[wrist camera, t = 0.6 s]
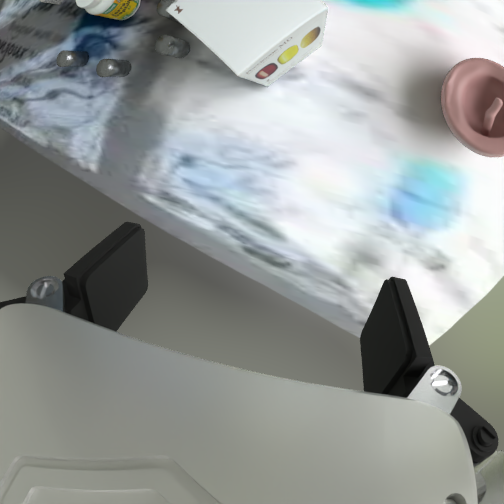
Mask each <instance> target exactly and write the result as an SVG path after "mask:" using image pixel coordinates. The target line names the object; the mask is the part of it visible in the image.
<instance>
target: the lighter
mask: <svg viewBox="0 0 504 504" xmlns="http://www.w3.org/2000/svg"><path fill="white" fill-rule="evenodd" d="M40 1H41V2H44V3H52V4H58V5H60V4H61V2H62V1H63V0H40Z"/></svg>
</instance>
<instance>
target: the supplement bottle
mask: <svg viewBox="0 0 504 504" xmlns="http://www.w3.org/2000/svg"><path fill="white" fill-rule="evenodd" d="M140 1H141V0H76V4H77V6H79V7H81V8H85V9H86V11H87V12H88V13H90V14H93V15H98V16H103V17H107V18H112V19H116V20H124V19H127V18H129V17H131V16H132V15H134V14H135V13H136V11H137V10H138V8H139V6H140Z"/></svg>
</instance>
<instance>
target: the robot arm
mask: <svg viewBox="0 0 504 504" xmlns="http://www.w3.org/2000/svg"><path fill="white" fill-rule="evenodd" d="M64 276H65V279H64V280H63V281H61V280H60V279H58V278H57V277H53V276H47V277H42V278H39V279H37V280H35V281H34V282H33V283H31V285H30V286H29V287H28V290H27V295H26V297H21V298H17V299H13V300H9V301H4V302H0V504H504V453H503V452H502V451H500V452H499V453H498V451H497V446H498V436H497V433H496V431H495V429H494V428H493V427H492V426H491V425H490V424H489V423H488V422H487V421H486V420H484V419H483V418H482V417H481V416H480V415H479V414H478V413H476V412H475V411H474V410H473V409H472V408H471V407H469V406H468V405H467V404H466V403H465V402H463V401H462V400H461V399H460V398H459V396H460V394H461V390H462V387H461V383H460V380H459V378H458V377H457V375H456V374H455V373H453V371H452V370H450V369H448V368H446V367H443V366H435V365H434V362H433V358H432V355H431V352H430V348H429V345H428V341H427V338H426V335H425V332H424V329H423V326H422V323H421V320H420V317H419V314H418V311H417V308H416V306H415V303H414V300H413V297H412V295H411V292H410V289H409V287H408V284H407V281H406V280H405V279H401V278H396V277H391V278H390V279H389V280H387V279H386V280H385V281H384V283H383V285H382V288H381V290H380V293H379V295H378V297H377V300H376V302H375V304H374V306H373V309H372V311H371V313H370V315H369V318H368V320H367V322H366V324H365V326H364V328H363V330H362V333H361V337H360V344H361V356H362V367H363V383H364V391H356V390H350V389H343V388H337V387H330V386H324V385H318V384H312V383H307V382H301V381H296V380H290V379H285V378H281V377H275V376H271V375H266V374H262V373H257V372H253V371H249V370H244V369H240V368H236V367H232V366H227V365H224V364H220V363H216V362H212V361H209V360H205V359H201V358H197V357H194V356H190V355H187V354H183V353H180V352H177V351H174V350H170V349H167V348H163V347H160V346H157V345H154V344H151V343H148V342H144V341H142V340H139V339H136V338H133V337H130V336H127V335H124V334H121V333H119V332H116V331H117V330H118V328H119V327H120V326H121V324H122V323H123V322H124V320H125V319H126V318H127V316H128V315H129V314H130V312H131V311H132V310H133V308H134V307H135V306H136V304H137V303H138V302H139V300H140V299H141V298H142V297H143V295H144V294H145V293H146V291H147V287H148V280H147V266H146V250H145V232H144V229H142V228H141V226H140V224H135V223H131V222H125V223H124V224H122V225H121V226H120V227H119V228H117V229H116V230H115V231H114V232H112V233H111V234H110V235H109V236H107V237H106V238H105V239H104V240H103V241H101V242H100V243H99V244H98V245H96V246H95V247H94V248H93V249H92V250H90V251H89V252H88V253H87V254H86V255H84V256H83V257H82V258H81V259H80V260H79V261H78V262H76V263H75V264H74V265H73V266H72V267H71V268H70V269H68V270H67V271H66V272H65V273H64Z"/></svg>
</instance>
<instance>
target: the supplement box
mask: <svg viewBox="0 0 504 504" xmlns="http://www.w3.org/2000/svg"><path fill="white" fill-rule="evenodd" d="M166 11H167V12H168V13H169V14H171V15H172V16H173V17H174V18H175V19H177V20H178V21H179V22H180V23H181V24H182V25H184V26H185V27H186V28H187V29H188V30H189V31H190V32H192V33H193V34H194V35H195V36H196V37H197V38H198V39H199V40H201V41H202V42H203V43H204V44H205V45H206V46H207V47H208V48H209V49H210V50H211V51H212V52H213V53H215V54H216V55H217V56H218V57H219V58H220V59H221V60H222V61H223V62H224V63H225V64H226V65H227V66H228V67H229V68H230V69H231V70H232V71H233V72H234V73H235V74H236V75H237V76H238V77H241V78H244V79H247V80H250V81H253V82H256V83H258V84H261V85H264V86H267V87H269V86H270V85H271V84H272V83H274V82H275V81H276V80H277V79H279V78H280V77H281V76H282V75H284V74H285V73H286V72H288V71H289V70H290V69H292V68H293V67H294V66H296V65H297V64H298V63H299V62H301V61H302V60H303V59H305V58H306V57H307V56H309V55H310V54H311V53H313V52H314V51H315V50H317V49H318V48H320V47H321V46H322V41H323V36H324V30H325V24H326V18H327V12H328V6H327V5H326V4H325V3H323V2H322V1H321V0H176V1H175V2H174V3H172V4H171V5H170V6H169V7H168V8H167V9H166Z"/></svg>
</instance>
